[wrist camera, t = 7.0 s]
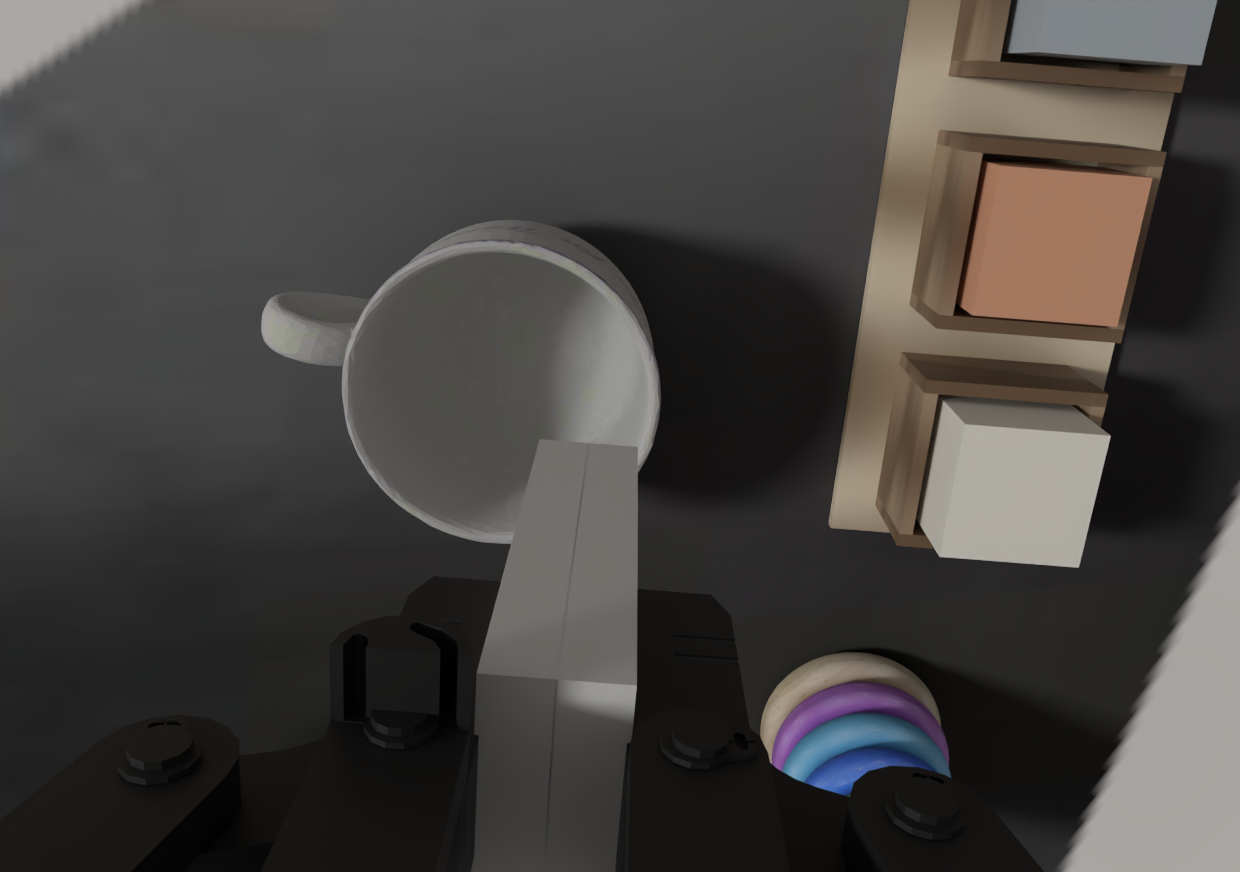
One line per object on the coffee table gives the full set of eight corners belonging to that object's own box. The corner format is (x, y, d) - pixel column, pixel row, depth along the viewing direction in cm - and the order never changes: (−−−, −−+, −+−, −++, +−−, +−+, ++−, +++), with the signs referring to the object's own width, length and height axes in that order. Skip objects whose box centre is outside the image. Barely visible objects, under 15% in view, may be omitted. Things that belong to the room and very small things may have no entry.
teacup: (704, 287, 42) (719, 335, 34) (581, 511, 45) (570, 600, 37) (381, 118, 40) (320, 129, 32) (277, 364, 43) (199, 427, 35)
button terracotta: (1072, 302, 40) (1117, 326, 36) (940, 292, 40) (972, 315, 36) (1102, 167, 38) (1152, 177, 35) (965, 156, 38) (1000, 165, 35)
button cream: (1038, 522, 41) (1078, 567, 38) (911, 512, 41) (939, 556, 38) (1066, 401, 40) (1110, 436, 36) (934, 390, 40) (965, 424, 36)
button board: (1062, 541, 45) (1106, 590, 41) (828, 523, 45) (848, 570, 41) (1223, -144, 36) (1300, -171, 32) (935, -168, 36) (974, -199, 32)
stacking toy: (815, 614, 46) (923, 951, 29) (968, 689, 47) (1163, 1057, 30) (726, 748, 49) (776, 1136, 31) (874, 816, 50) (1002, 1228, 32)
